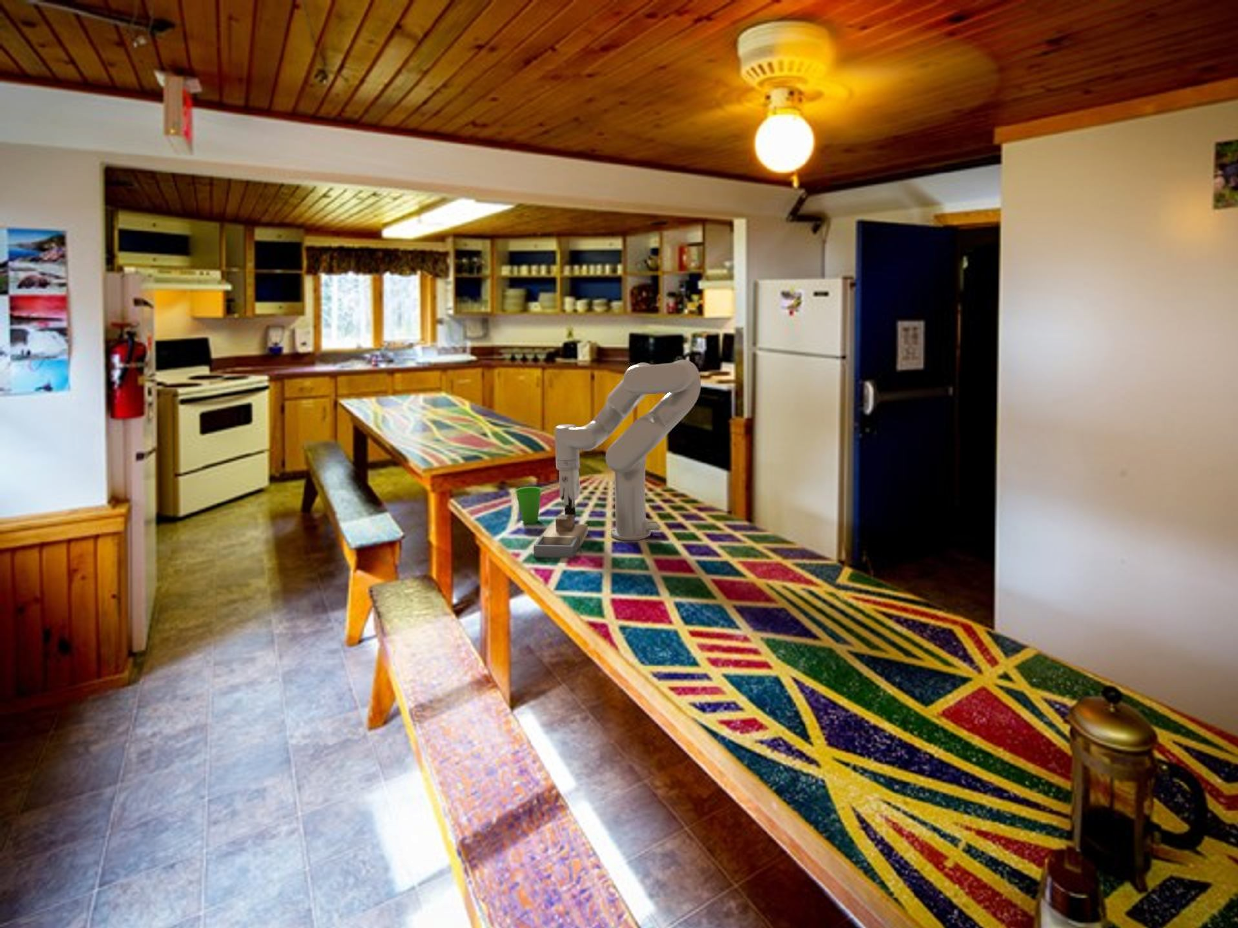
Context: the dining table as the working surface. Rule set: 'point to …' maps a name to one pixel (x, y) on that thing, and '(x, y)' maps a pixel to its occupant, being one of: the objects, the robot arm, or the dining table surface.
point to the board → (565, 535)
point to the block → (565, 523)
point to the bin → (555, 549)
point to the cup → (529, 503)
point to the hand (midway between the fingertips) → (570, 518)
